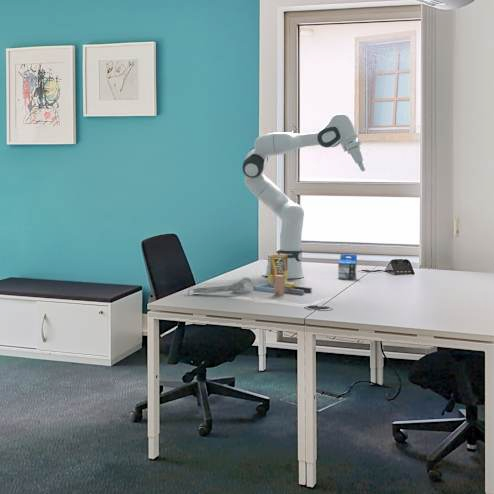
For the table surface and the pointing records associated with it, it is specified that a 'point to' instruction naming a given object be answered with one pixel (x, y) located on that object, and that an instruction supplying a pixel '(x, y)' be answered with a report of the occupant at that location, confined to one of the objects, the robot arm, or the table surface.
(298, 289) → the channel
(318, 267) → the table surface
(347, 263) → the label tape cartridge
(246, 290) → the wrench
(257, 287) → the tray
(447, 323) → the table surface
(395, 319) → the table surface
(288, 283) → the chip
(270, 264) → the candy box
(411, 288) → the table surface
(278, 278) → the pinkish tan block
